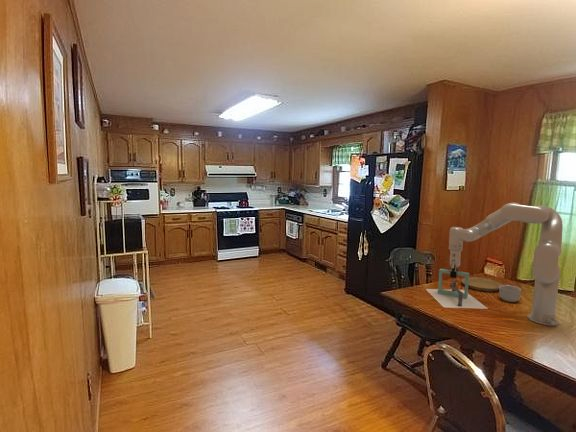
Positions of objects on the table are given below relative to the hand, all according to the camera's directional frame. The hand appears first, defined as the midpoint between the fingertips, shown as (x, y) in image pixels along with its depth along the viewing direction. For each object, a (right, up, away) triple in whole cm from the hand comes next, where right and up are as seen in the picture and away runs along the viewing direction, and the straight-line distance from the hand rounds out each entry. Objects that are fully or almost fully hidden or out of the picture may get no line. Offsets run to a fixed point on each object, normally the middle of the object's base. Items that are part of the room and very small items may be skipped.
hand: (453, 276), depth 201 cm
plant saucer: (+29, -11, +21) cm, 38 cm away
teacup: (+33, -14, -2) cm, 36 cm away
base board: (-1, -14, -3) cm, 14 cm away
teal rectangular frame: (0, -12, +1) cm, 12 cm away
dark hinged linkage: (0, -13, -4) cm, 13 cm away
